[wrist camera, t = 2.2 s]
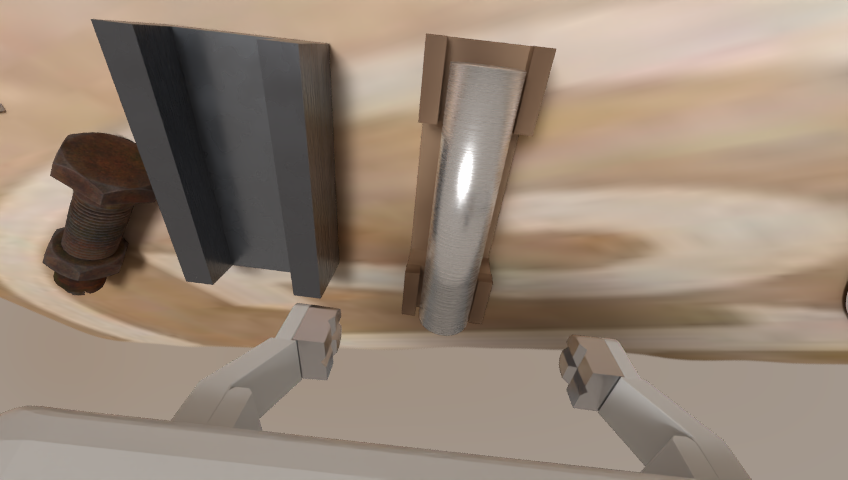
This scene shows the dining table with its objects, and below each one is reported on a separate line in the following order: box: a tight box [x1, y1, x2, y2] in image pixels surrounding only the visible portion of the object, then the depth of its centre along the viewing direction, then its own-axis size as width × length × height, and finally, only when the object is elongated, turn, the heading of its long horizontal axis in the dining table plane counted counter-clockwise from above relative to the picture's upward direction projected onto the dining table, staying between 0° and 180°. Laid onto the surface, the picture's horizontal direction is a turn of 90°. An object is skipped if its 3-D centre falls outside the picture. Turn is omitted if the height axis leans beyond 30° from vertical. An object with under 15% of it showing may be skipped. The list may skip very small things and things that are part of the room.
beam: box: [402, 34, 556, 324], centre depth 21 cm, size 6×18×4 cm, turn 174°
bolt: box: [43, 132, 156, 295], centre depth 25 cm, size 6×5×15 cm
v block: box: [91, 19, 339, 298], centre depth 21 cm, size 10×16×4 cm, turn 174°
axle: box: [419, 62, 527, 336], centre depth 19 cm, size 16×4×4 cm, turn 174°
